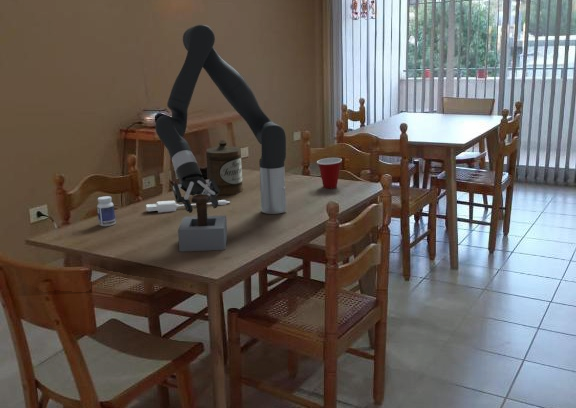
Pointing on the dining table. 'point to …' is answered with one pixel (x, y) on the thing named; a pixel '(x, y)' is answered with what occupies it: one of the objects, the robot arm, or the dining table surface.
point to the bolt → (201, 209)
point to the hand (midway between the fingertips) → (203, 209)
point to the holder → (202, 234)
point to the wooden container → (225, 168)
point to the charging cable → (172, 206)
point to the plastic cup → (329, 171)
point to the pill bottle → (106, 211)
